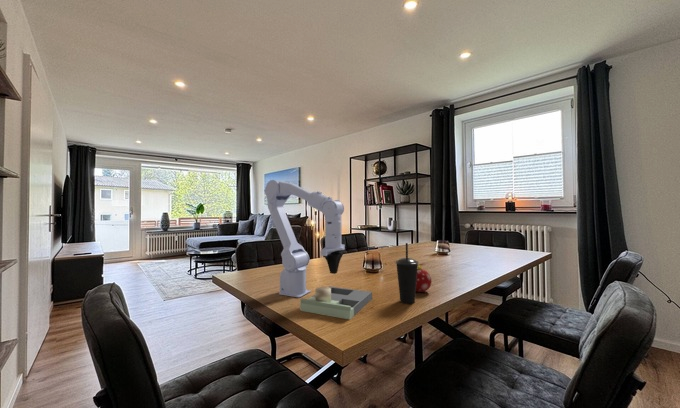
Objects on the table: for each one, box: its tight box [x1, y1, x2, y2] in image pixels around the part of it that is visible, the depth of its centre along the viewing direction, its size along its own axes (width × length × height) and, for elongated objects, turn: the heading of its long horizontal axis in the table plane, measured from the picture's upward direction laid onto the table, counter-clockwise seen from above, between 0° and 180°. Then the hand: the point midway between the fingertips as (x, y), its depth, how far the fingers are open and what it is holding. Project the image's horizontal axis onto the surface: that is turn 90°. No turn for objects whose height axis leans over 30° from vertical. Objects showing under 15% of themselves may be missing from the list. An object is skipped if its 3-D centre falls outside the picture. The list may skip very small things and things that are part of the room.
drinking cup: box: [395, 242, 419, 305], centre depth 96 cm, size 8×8×20 cm
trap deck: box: [299, 285, 373, 320], centre depth 94 cm, size 17×20×4 cm
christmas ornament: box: [416, 264, 432, 293], centre depth 107 cm, size 9×9×10 cm
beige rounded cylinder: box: [314, 286, 331, 303], centre depth 89 cm, size 5×5×4 cm
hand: (333, 273), depth 98 cm, fingers closed
